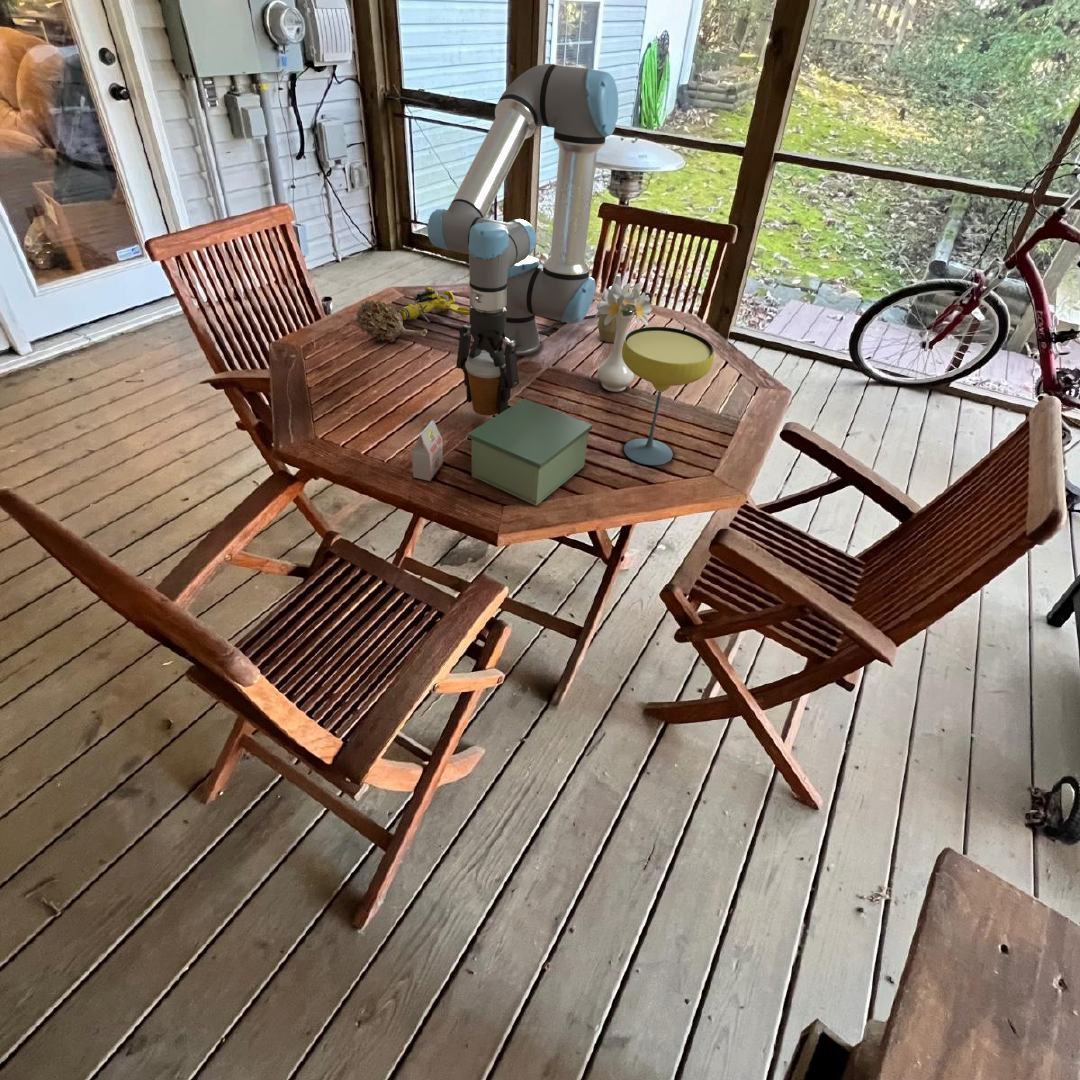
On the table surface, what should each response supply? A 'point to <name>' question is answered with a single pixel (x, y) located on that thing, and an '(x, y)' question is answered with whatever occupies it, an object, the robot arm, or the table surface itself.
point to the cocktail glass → (663, 375)
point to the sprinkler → (431, 304)
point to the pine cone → (382, 321)
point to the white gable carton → (427, 453)
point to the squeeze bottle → (609, 330)
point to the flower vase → (620, 331)
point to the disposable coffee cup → (483, 383)
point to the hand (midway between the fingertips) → (486, 405)
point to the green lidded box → (529, 450)
